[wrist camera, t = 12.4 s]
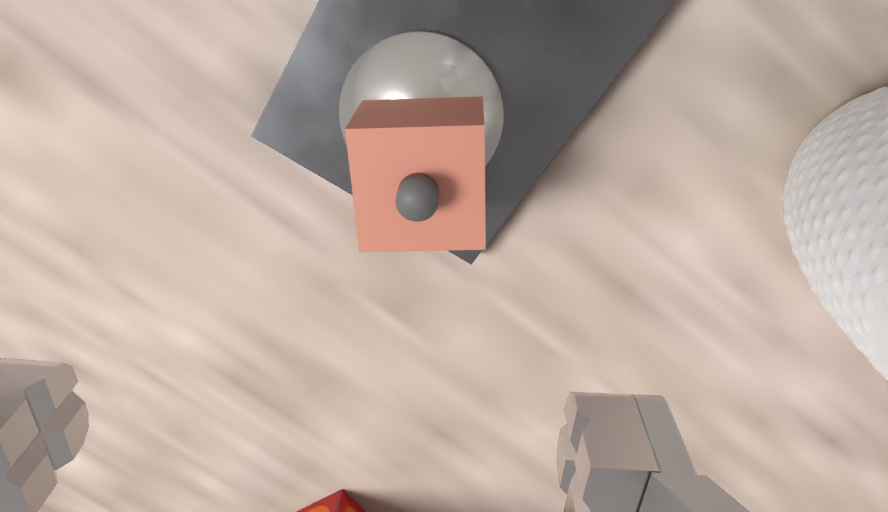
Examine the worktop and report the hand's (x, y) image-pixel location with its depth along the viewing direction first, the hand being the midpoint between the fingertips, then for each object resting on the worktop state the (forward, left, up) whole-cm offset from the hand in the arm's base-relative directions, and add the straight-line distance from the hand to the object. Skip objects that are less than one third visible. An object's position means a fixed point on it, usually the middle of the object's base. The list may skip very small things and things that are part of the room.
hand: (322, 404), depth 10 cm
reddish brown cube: (+2, +2, -19) cm, 19 cm away
